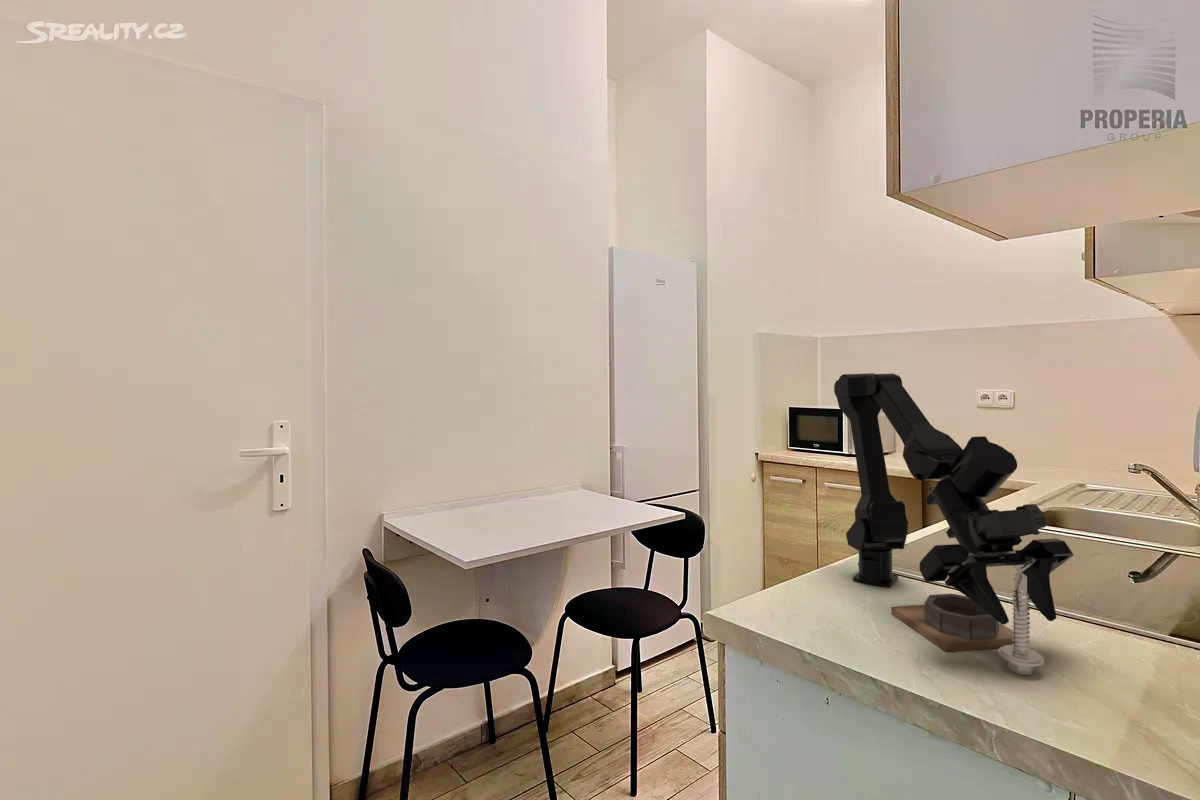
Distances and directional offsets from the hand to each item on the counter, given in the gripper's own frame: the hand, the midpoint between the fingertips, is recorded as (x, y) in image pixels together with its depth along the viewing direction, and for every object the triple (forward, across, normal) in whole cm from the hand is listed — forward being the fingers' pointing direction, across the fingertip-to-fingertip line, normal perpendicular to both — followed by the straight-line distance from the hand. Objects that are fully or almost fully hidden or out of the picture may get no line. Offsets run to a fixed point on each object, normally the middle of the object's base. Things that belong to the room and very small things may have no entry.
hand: (1029, 621), depth 74 cm
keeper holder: (-5, 0, +15) cm, 16 cm away
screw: (+4, 0, +6) cm, 7 cm away
